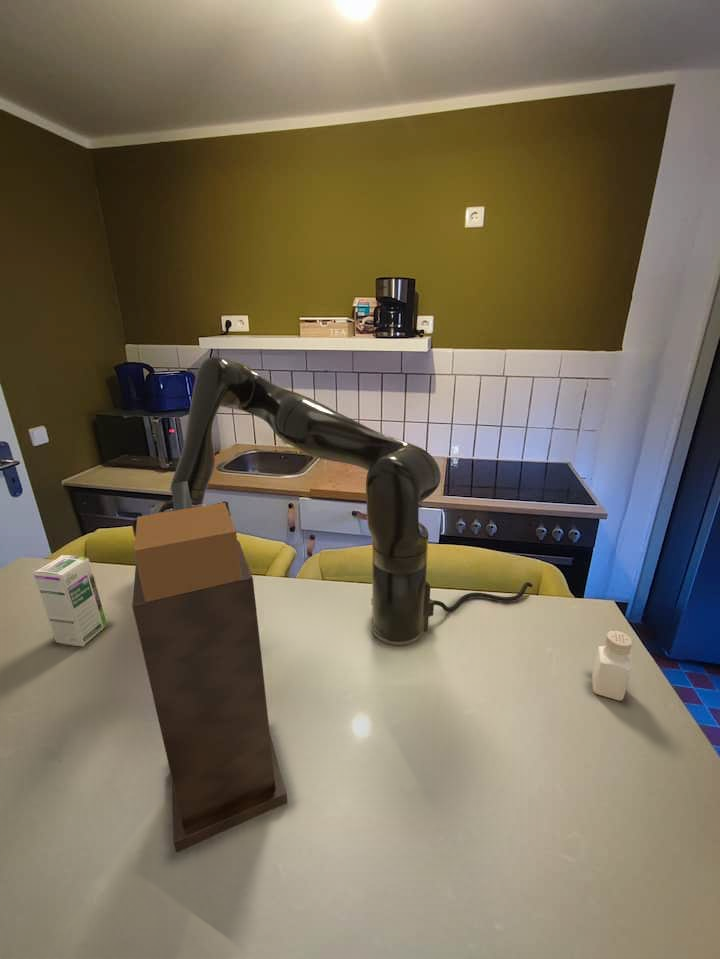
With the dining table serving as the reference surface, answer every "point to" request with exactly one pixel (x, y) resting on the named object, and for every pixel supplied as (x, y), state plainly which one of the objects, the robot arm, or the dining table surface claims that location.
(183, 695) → the brown wooden tall block
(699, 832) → the dining table surface
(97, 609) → the syrup box
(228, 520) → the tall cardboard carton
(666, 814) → the dining table surface
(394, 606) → the robot arm
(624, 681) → the pepper shaker
